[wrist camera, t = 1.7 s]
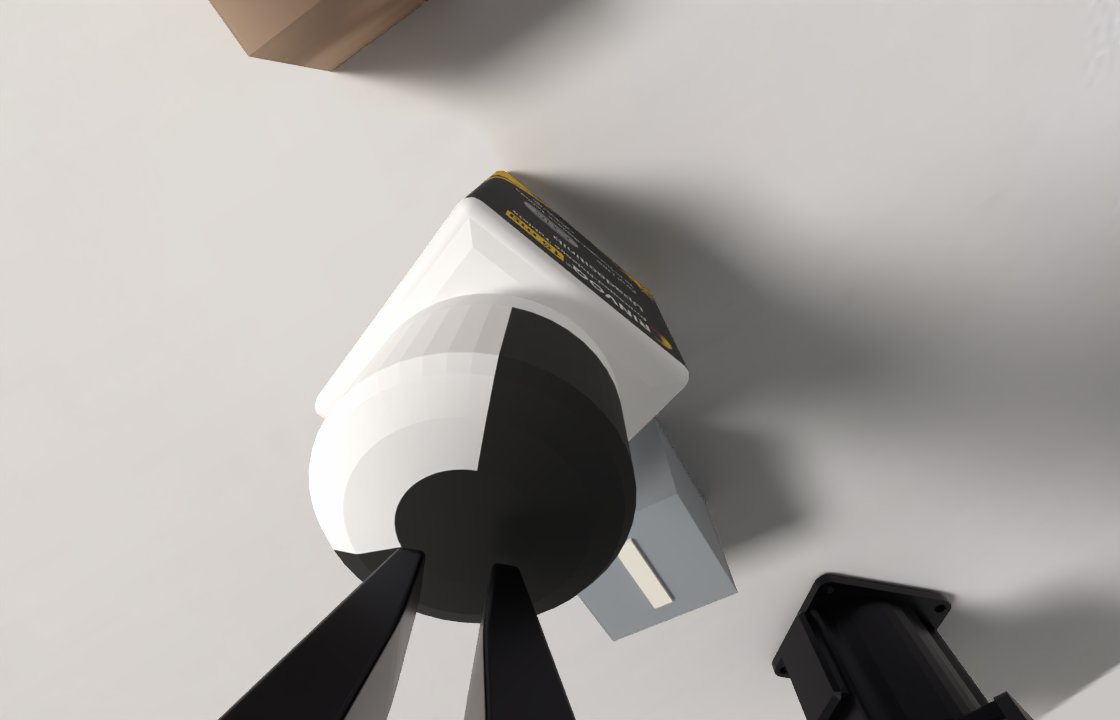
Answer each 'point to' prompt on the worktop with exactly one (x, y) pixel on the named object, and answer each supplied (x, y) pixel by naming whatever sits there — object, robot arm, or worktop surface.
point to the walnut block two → (310, 27)
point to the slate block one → (660, 547)
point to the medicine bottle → (494, 409)
